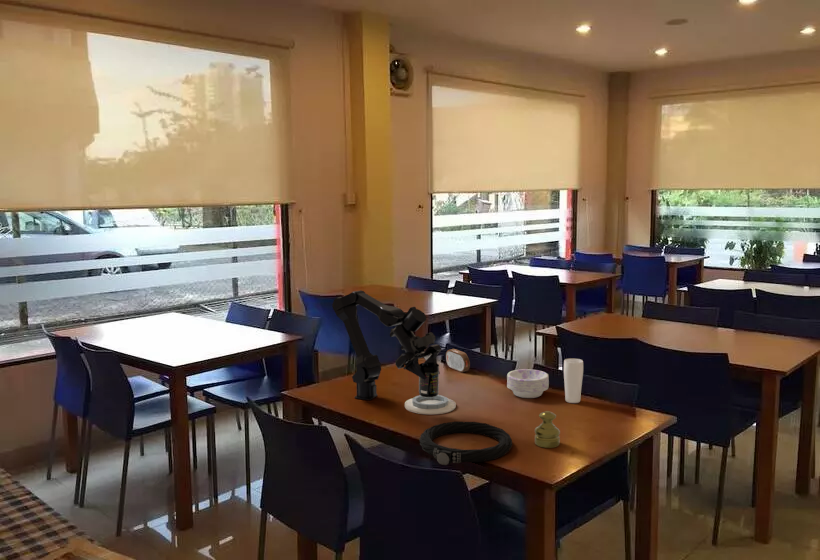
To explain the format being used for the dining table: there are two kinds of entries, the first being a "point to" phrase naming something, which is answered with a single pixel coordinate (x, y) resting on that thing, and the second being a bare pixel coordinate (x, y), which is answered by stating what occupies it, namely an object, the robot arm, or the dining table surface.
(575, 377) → the drinking glass
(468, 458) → the cable lock
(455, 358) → the tin
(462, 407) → the dining table surface
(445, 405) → the round tray
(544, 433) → the gold tapered knobbed piece
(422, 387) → the supplement container
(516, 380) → the paper bowls
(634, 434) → the dining table surface
